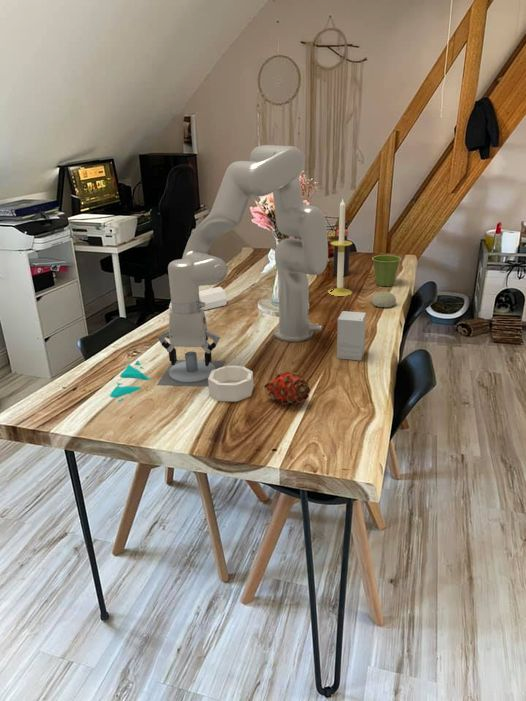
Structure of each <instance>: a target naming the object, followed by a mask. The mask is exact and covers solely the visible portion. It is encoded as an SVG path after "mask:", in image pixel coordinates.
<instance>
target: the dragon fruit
mask: <svg viewBox="0 0 526 701" xmlns="http://www.w3.org/2000/svg"><path fill="white" fill-rule="evenodd" d="M276 375H277V376H275V377H274V378H273V379H271V380H270V381H268V382H267V383H265V385H264V387H263V389H266V390H267V391H268V395H269V397H271V400H272V401H274V400H281V405H283V406H286V405H288V404H289V403H291V404H292V405H296V404H298V403H301V402H303V401H304V400H305V401H306V400H307V399H308V398H309V397H310V396H309V393H310V392H311V388H310V386H309V383H308V382H307V380H306V379H305V378H303V377H301V375H300V374H298V373H297V372H292V373H290V372H288V371H286V372H285V371H283V372H281V373H280V374H276Z"/></svg>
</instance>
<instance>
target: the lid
mask: <svg viewBox="0 0 526 701" xmlns="http://www.w3.org/2000/svg"><path fill="white" fill-rule="evenodd" d="M197 354H198V353H197V352H196V351H187V352H185V353H184V358H185V359H184V360H186V361H184V362H180V363H178V364H176V365H174V366H173V367H171V369H170V370H169V376H170V378H171V379H172V380H174V381H177V382H181V383H196V382H201V381H204V380H207V379H208V378H209V376H210V373H211V371H212V370H215V366H214V365H213V364H212V363H209V365H208V366H205V361H203V360H202V359H198V356H197Z"/></svg>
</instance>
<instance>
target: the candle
mask: <svg viewBox="0 0 526 701" xmlns="http://www.w3.org/2000/svg"><path fill="white" fill-rule="evenodd" d="M338 222H339V224H338V230H339V241H335V240H333V241H331V242H330V245H331V246H333V247H334V246H338V266H337V276H336V288H331V289H328V290H327V292H328V293H329V294H331V295H334V296H333V297H337V296H344V297H349V296H351V295H353V291H352V290H350V289H348V288H344V277H343V276H344V247H345V246H349V245H350V246H352V245H353V242H352V241H350V240H349V241H344V233H345V228H346V225H345V224H346V203H345V201H344V198H342V199H341V202H340V203H339V219H338ZM333 289H334V290H333ZM331 290H333V291H332V292H330V291H331ZM328 293H327V294H328ZM329 294H328V295H329ZM331 295H330V296H331ZM348 295H349V296H348Z"/></svg>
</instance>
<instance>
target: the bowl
mask: <svg viewBox="0 0 526 701" xmlns="http://www.w3.org/2000/svg"><path fill="white" fill-rule="evenodd" d="M208 384H209V387H208V394H209V396H211V397H212V398H214V399H215V400H217V401H219V402H239V401H242V400H245V399H247V398H249V397H251V396H252V394H253V390H254V372H253V371H252V370H251V369H249V368H247V367H245V366H243V365H223V367H221V368H218V369H215V370H212V371H211V373H210V376H209V378H208Z"/></svg>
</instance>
